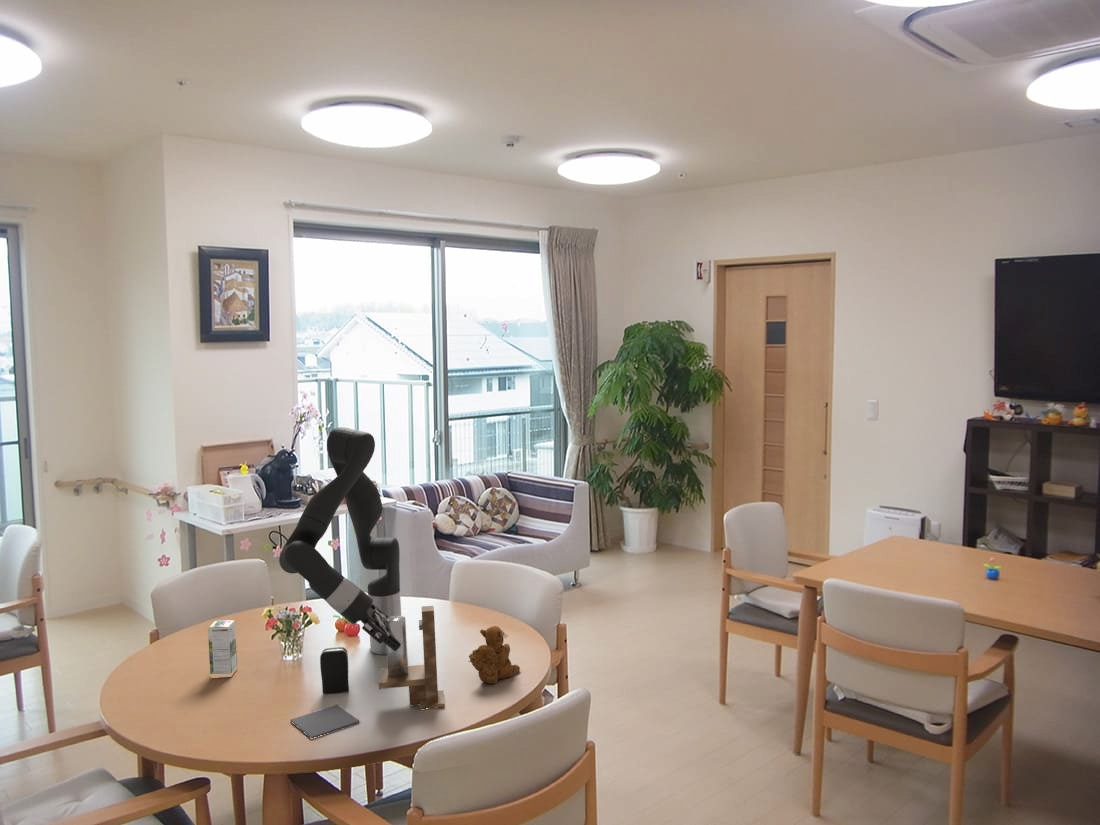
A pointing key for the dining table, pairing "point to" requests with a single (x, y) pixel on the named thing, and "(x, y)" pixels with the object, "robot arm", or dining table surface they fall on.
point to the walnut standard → (420, 669)
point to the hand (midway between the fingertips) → (398, 641)
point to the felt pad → (325, 721)
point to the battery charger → (334, 670)
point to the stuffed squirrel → (493, 657)
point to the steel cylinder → (398, 659)
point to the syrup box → (222, 647)
